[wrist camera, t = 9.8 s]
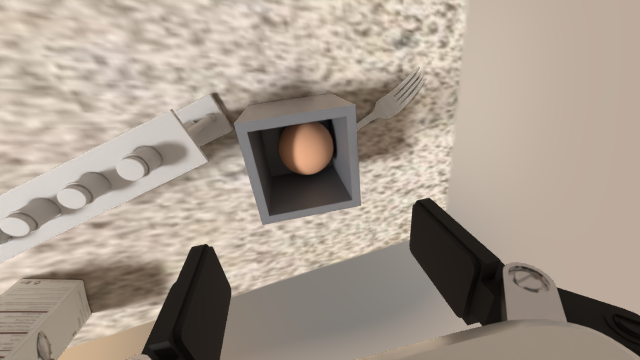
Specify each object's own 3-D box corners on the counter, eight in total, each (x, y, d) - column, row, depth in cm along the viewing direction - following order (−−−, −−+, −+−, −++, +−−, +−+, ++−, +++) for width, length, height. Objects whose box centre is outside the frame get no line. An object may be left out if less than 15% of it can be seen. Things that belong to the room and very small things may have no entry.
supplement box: (94, 313, 36) (10, 425, 25) (33, 314, 34) (-87, 434, 23) (85, 278, 33) (-14, 386, 22) (19, 276, 31) (-126, 393, 20)
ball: (266, 121, 26) (283, 132, 21) (316, 111, 28) (341, 118, 23) (277, 170, 29) (294, 190, 24) (321, 157, 31) (345, 173, 26)
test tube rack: (211, 93, 26) (155, 113, 14) (234, 129, 28) (201, 173, 16) (18, 189, 27) (-184, 283, 15) (53, 217, 29) (-102, 320, 17)
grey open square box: (248, 105, 27) (233, 123, 18) (330, 92, 28) (355, 104, 19) (267, 180, 31) (262, 224, 22) (337, 167, 32) (361, 205, 23)
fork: (288, 161, 33) (286, 170, 31) (419, 60, 28) (430, 61, 26) (300, 174, 35) (300, 184, 32) (429, 80, 29) (440, 83, 27)
